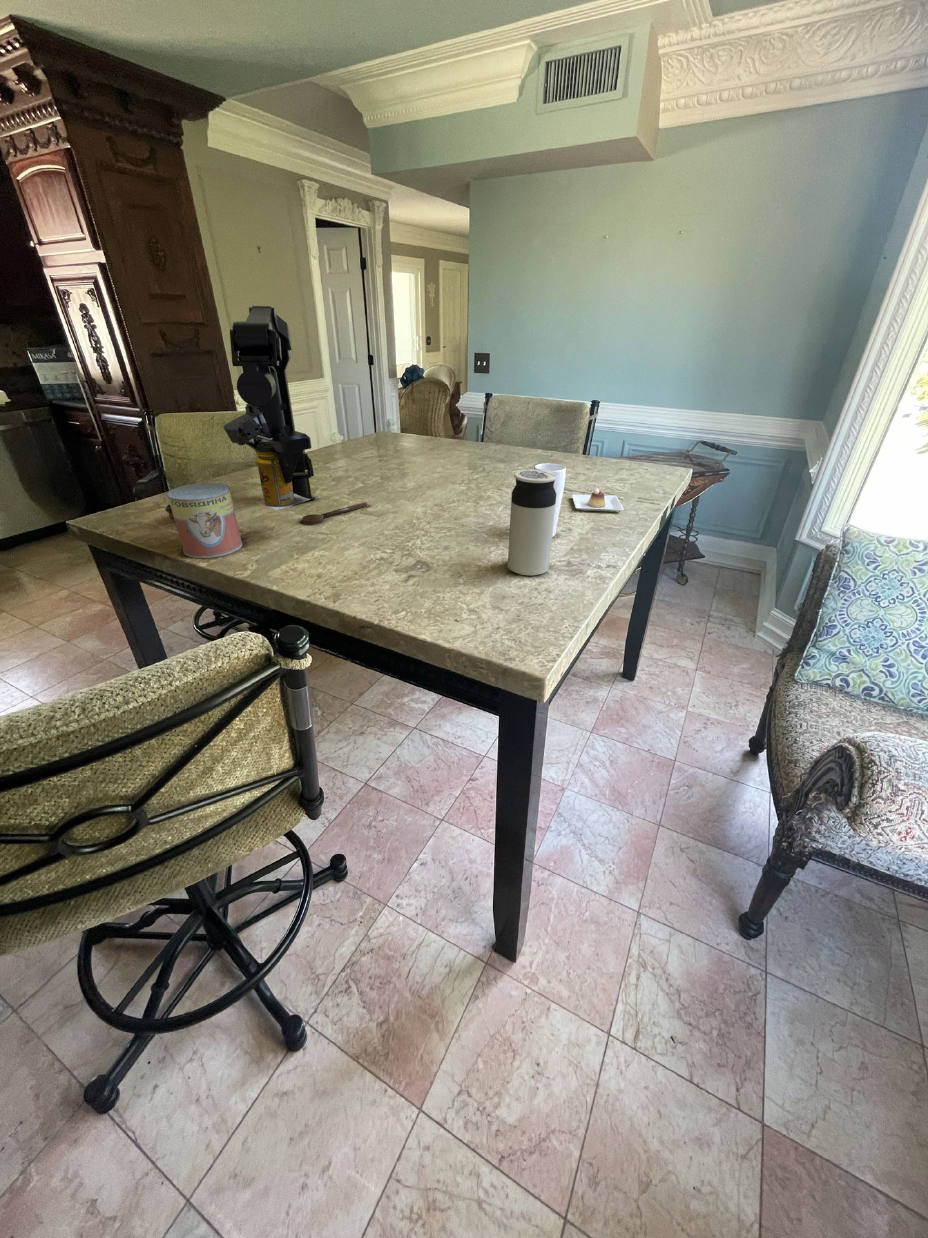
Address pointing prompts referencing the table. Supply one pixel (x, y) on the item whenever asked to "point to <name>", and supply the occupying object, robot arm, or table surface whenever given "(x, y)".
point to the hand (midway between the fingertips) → (279, 479)
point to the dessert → (597, 502)
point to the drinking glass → (555, 487)
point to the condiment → (274, 480)
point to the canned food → (205, 519)
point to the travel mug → (531, 522)
